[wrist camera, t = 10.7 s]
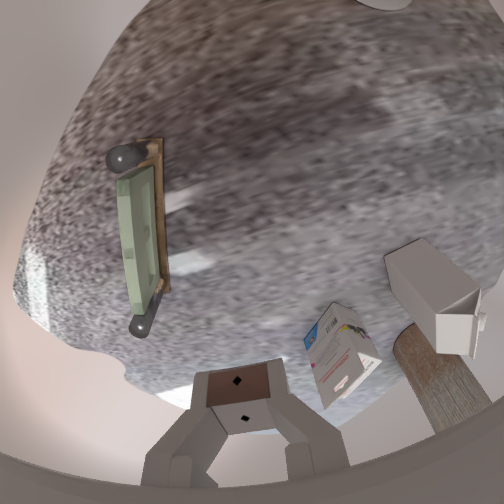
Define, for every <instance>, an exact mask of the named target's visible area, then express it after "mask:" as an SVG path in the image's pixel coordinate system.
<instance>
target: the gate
mask: <svg viewBox="0 0 504 504" xmlns="http://www.w3.org/2000/svg"><path fill="white" fill-rule="evenodd" d="M116 193H117V207H118V218H119V228H120V237H121V246H122V253H123V261H124V268H125V274H126V281H127V287H128V293H129V298H130V304H131V309H132V314H138V315H144V314H145V311H146V309H147V307H148V304H149V302H150V300H151V297H152V295H153V293H154V290H155V288H156V286H157V284H158V281H159V279H160V273H159V262H158V250H157V237H156V222H155V202H154V167H153V166H142V167H140V168H138V169H136V170H134V171H132V172H130V173H128V174H126V175H124V176H122V177H120V178H118V179H117V180H116Z"/></svg>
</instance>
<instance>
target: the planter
mask: <svg viewBox="0 0 504 504" xmlns="http://www.w3.org/2000/svg"><path fill="white" fill-rule="evenodd" d="M393 351H394V355H395V357H396V359H397V361H398V363H399V365H400V366H401V368H402V370H403V372H404V374H405V376H406V377H407V379H408V381H409V383H410V385H411V387H412V389H413V390H414V392H415V394H416V396H417V398H418V400H419V402H420V404H421V406H422V408H423V410H424V412H425V414H426V416H427V418H428V420H429V422H430V424H431V426H432V428H433V430H434V432H435V434H437V433H439V432H441V431H443V430H445V429H447V428H449V427H451V426H453V425H455V424H457V423H459V422H461V421H463V420H465V419H466V418H468V417H470V416H472V415H473V414H475V413H477V412H479V411H480V410H482V409H484V408H485V407H487V406H489V405H490V404H492V402H491V400H490V399H489V397H488V396H487V394H486V393H485V391H484V390H483V388H482V387H481V385H480V384H479V382H478V381H477V380H476V378H475V377H474V375H473V374H472V372H471V371H470V370H469V368H468V367H467V365H466V364H465V362H464V361H463V360H462V358H461V357H460V356H459V354H443V353H436V351H435V350H434V348H433V347H432V345H431V344H430V343H429V341H428V340H427V338H426V337H425V336H424V334H423V333H422V331H421V330H420V329H419V327H418V326H417V325H416V323H414V324H413V325H411V326H409V327H408V328H407V329H406V330H405V331H403V332H402V334H401V335H400V336H399V337H398V339H397V340H396V342H395V345H394V350H393Z"/></svg>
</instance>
